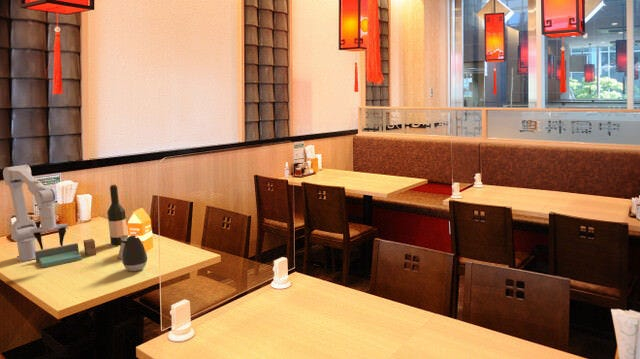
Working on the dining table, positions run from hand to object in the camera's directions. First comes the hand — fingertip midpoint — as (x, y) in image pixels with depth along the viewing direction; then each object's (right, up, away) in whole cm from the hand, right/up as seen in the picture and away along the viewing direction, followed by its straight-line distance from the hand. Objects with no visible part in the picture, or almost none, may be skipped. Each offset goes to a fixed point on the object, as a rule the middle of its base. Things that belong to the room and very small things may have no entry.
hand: (51, 247), depth 224 cm
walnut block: (+8, -6, +19) cm, 22 cm away
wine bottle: (+16, -3, +36) cm, 39 cm away
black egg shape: (+38, -9, -2) cm, 39 cm away
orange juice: (+31, -5, +24) cm, 40 cm away
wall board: (-3, -8, +12) cm, 15 cm away
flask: (+27, -7, +14) cm, 31 cm away
